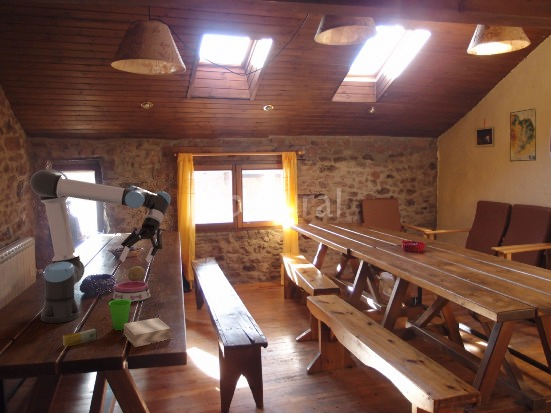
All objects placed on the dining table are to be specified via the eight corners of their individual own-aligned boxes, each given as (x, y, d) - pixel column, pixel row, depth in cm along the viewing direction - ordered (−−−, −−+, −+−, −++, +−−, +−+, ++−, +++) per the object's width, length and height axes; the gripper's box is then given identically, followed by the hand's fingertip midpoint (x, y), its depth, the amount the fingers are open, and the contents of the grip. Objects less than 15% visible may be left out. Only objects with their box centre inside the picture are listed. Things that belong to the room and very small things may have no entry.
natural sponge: (133, 286, 255) (133, 268, 254) (124, 283, 261) (124, 266, 260) (147, 283, 261) (147, 266, 260) (139, 280, 267) (139, 263, 266)
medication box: (95, 338, 182) (94, 328, 182) (97, 339, 180) (97, 329, 180) (62, 345, 174) (62, 335, 174) (65, 347, 172) (64, 337, 172)
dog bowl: (118, 292, 244) (118, 279, 244) (154, 292, 245) (154, 280, 244) (107, 303, 226) (107, 289, 225) (145, 303, 227) (145, 289, 226)
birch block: (134, 348, 173) (134, 335, 173) (123, 336, 185) (123, 323, 184) (170, 340, 181) (170, 328, 181) (157, 329, 193) (157, 317, 192)
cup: (136, 327, 193) (136, 301, 192) (118, 334, 186) (118, 307, 185) (121, 323, 198) (121, 297, 197) (103, 329, 190) (103, 303, 189)
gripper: (179, 226, 211) (163, 267, 199) (134, 225, 220) (115, 264, 208) (172, 216, 206) (155, 257, 193) (125, 216, 214) (106, 255, 202)
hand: (134, 261), depth 200 cm, fingers open, 13 cm apart
